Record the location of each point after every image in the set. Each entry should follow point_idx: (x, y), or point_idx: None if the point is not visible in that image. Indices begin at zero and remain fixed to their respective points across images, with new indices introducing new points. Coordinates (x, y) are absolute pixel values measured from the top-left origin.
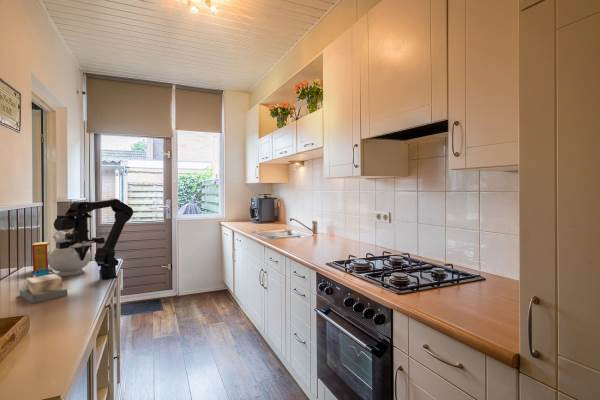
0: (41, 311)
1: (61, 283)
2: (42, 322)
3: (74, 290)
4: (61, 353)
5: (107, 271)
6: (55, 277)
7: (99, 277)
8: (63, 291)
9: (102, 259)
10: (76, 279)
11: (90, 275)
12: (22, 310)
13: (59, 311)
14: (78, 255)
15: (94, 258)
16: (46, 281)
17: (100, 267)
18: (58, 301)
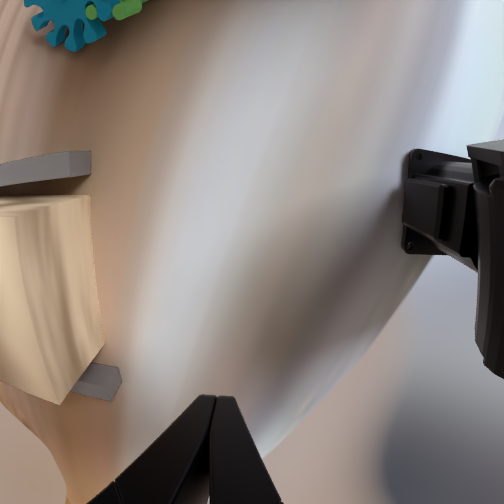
0: (59, 443)
1: (74, 380)
2: (75, 486)
3: (165, 332)
4: None
5: (456, 258)
6: (26, 362)
7: (410, 159)
8: (98, 394)
9: (489, 349)
10: (284, 22)
11: (395, 10)
12: (12, 392)
13: (100, 477)
14: (141, 469)
15: (499, 190)
16: (4, 378)
17: (462, 192)
18: (91, 417)
